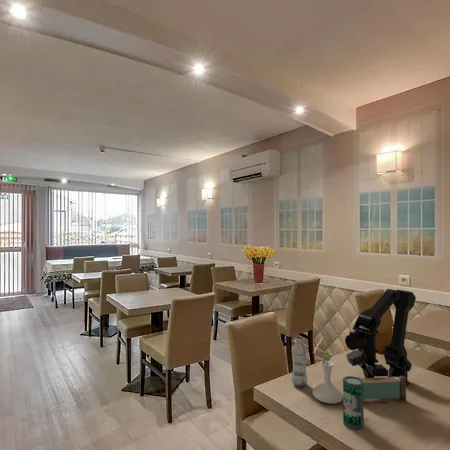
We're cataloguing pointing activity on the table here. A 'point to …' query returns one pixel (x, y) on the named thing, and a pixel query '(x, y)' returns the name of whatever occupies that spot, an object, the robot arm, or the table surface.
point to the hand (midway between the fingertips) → (368, 383)
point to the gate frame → (390, 400)
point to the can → (353, 403)
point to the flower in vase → (326, 381)
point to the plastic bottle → (299, 362)
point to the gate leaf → (381, 388)
